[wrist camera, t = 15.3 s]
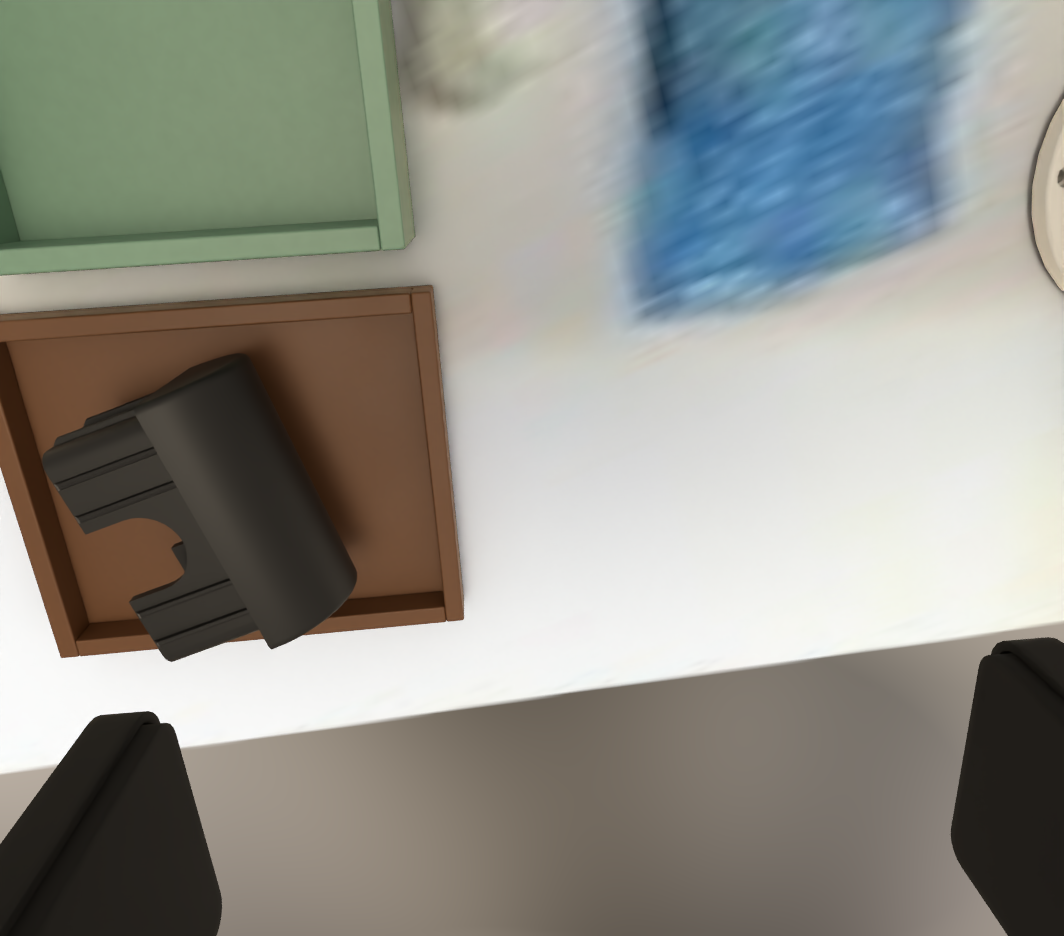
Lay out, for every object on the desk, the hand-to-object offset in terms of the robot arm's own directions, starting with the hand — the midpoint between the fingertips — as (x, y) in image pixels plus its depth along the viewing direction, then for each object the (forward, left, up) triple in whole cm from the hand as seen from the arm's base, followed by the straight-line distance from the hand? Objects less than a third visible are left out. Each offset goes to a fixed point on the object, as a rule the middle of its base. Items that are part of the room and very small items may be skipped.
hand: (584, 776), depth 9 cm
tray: (+11, +5, -25) cm, 28 cm away
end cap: (+11, +5, -25) cm, 28 cm away
